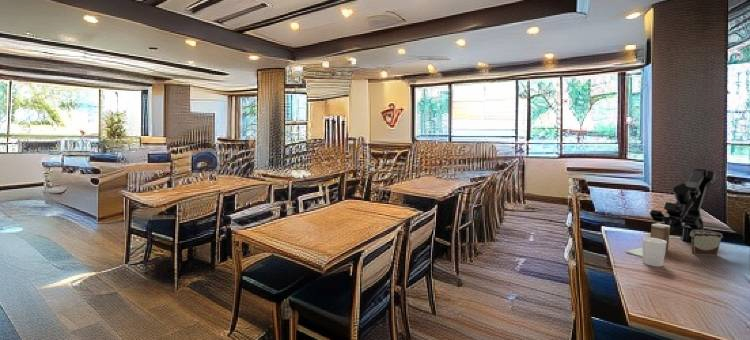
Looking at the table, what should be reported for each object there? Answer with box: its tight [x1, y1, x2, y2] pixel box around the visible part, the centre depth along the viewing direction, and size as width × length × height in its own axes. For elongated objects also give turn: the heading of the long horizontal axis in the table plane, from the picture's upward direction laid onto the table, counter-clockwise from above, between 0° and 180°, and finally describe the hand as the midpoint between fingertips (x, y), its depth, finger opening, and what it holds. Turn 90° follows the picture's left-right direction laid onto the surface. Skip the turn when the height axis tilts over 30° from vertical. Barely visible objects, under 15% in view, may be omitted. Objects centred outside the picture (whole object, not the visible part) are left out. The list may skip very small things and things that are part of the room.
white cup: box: [642, 236, 667, 267], centre depth 155 cm, size 8×8×10 cm
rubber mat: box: [625, 247, 667, 258], centre depth 169 cm, size 14×9×1 cm, turn 115°
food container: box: [690, 229, 724, 256], centre depth 170 cm, size 12×6×10 cm, turn 84°
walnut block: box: [650, 222, 671, 253], centre depth 173 cm, size 5×5×12 cm
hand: (665, 233), depth 174 cm, fingers closed
